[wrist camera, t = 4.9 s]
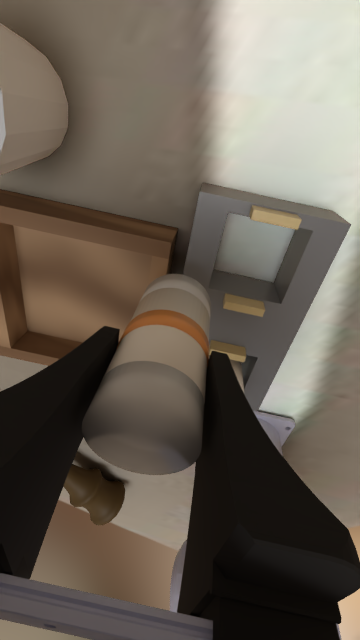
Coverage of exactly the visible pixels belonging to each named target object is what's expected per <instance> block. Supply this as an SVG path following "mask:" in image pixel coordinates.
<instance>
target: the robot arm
mask: <svg viewBox="0 0 360 640" xmlns="http://www.w3.org/2000/svg"><path fill="white" fill-rule="evenodd" d="M119 332H120V329H117V328H113V327H108V326H103V327H102V328H100V329H99V330H98V331H97V332H96V333H94V334H93V335H92V336H91V337H89V338H88V339H87V340H85V341H84V342H83V343H82V344H80V345H79V346H77V347H76V348H75V349H73V350H72V351H71V352H69V353H68V354H66V355H65V356H63V357H62V358H60V359H59V360H57V361H56V362H54V363H53V364H51V365H50V366H48V367H47V368H45V369H43V370H42V371H40V372H38V373H36V374H35V375H33V376H31V377H29V378H27V379H26V380H24V381H22V382H20V383H18V384H16V385H14V386H12V387H10V388H8V389H5V390H3V391H1V392H0V619H2V620H7V621H12V622H16V623H20V624H25V625H29V626H34V627H38V628H43V629H47V630H52V631H56V632H61V633H65V634H70V635H74V636H79V637H83V638H88V639H92V640H341V635H340V631H339V626H338V624H340V623H341V615H340V611H339V607H338V603H337V602H338V601H340V600H342V599H344V598H345V597H347V596H349V595H351V594H352V593H354V592H355V591H357V590H358V589H359V588H360V561H359V558H358V554H357V551H356V548H355V545H354V543H353V540H352V538H351V536H350V533H349V530H348V529H347V528H346V527H345V526H344V525H343V524H342V523H341V522H340V521H339V520H338V519H337V518H336V517H335V516H334V515H333V514H332V512H331V511H330V510H329V509H328V508H327V507H326V506H325V505H324V504H323V503H322V502H321V501H320V500H319V499H318V498H317V497H316V496H315V495H314V494H313V493H312V491H311V490H310V489H309V488H308V487H307V486H306V485H305V483H304V482H303V481H302V480H301V479H300V478H299V476H298V475H297V474H296V473H295V472H294V470H293V469H292V468H291V466H290V465H289V464H288V463H287V461H286V460H285V459H284V458H283V453H282V446H283V444H284V443H285V441H286V439H287V438H288V436H289V435H290V433H291V432H292V430H293V428H294V427H295V421H294V420H293V419H290V418H285V417H281V416H276V415H271V414H267V413H262V412H258V411H253V410H252V408H251V406H250V404H249V402H248V400H247V398H246V396H245V394H244V392H243V390H242V388H241V386H240V384H239V381H238V379H237V377H236V374H235V372H234V370H233V367H232V364H231V362H230V359H229V356H228V355H227V354H225V353H221V352H217V351H212V352H211V355H210V358H209V364H208V367H207V374H206V389H205V404H204V419H203V434H202V449H201V453H200V455H199V457H198V459H197V460H196V461H195V462H196V467H195V479H194V488H193V497H192V505H191V513H190V522H189V530H188V537H187V540H186V541H185V542H184V543H183V545H182V547H181V549H180V550H179V551H178V553H177V556H176V559H175V562H174V566H173V571H172V578H171V588H170V611H168V610H163V609H159V608H154V607H150V606H145V605H141V604H136V603H132V602H128V601H123V600H119V599H114V598H110V597H105V596H101V595H96V594H92V593H88V592H82V591H79V590H74V589H69V588H65V587H61V586H56V585H51V584H47V583H42V582H38V581H34V580H30V577H31V574H32V571H33V568H34V565H35V562H36V559H37V557H38V554H39V551H40V548H41V545H42V543H43V540H44V537H45V534H46V531H47V529H48V526H49V523H50V520H51V518H52V515H53V512H54V509H55V507H56V504H57V501H58V499H59V496H60V493H61V491H62V488H63V486H64V483H65V480H66V478H67V475H68V473H69V470H70V468H71V465H72V463H73V460H74V458H75V455H76V452H77V450H78V448H79V445H80V443H81V441H82V439H83V437H84V436H83V433H82V422H83V419H84V417H85V414H86V412H87V410H88V408H89V406H90V404H91V402H92V400H93V398H94V396H95V394H96V392H97V389H98V387H99V385H100V383H101V381H102V379H103V377H104V375H105V373H106V371H107V369H108V367H109V365H110V362H111V360H112V358H113V356H114V354H115V352H116V349H117V345H118V342H119Z"/></svg>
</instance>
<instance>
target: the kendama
mask: <svg viewBox="0 0 360 640" xmlns="http://www.w3.org/2000/svg"><path fill="white" fill-rule="evenodd" d="M63 487H64V488H65V489H66V490H67V491H68V493H69V494H70V503H71V504H72V505H73V506H74V507H84V508H86V509H87V510H88V511H89V513H90V518H91V521H92V522H93V523H94V524H96V525H104V524H106V523H108V522H110V521H111V520H112V519H113V518H114V517H115V516H116V515H117V514H118V512H119V511H120V509H121V507H122V504H123V501H124V496H125V487H124V484H123V483H122V482H120V481H107V480H105V479H104V478H103V477H102V475H101V471H100V470H99V469H97V468H93V469H89V470H88V469H84V468H81V467H79V466H76V465H74V464H72V465H71V468H70V470H69V473H68V475H67V478H66V480H65V483H64V486H63Z"/></svg>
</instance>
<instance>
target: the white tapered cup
mask: <svg viewBox="0 0 360 640" xmlns="http://www.w3.org/2000/svg"><path fill="white" fill-rule="evenodd" d="M67 129H68V102H67V98H66V95H65V92H64V88H63V85H62V81H61V79H60V77H59V76H58V74H57V73H56V71H55V70H54V68H53V66H52V65H51V63H50V62H49V60H48V59H47V57H46V56H45V55H44V54H42V53H41V52H40V51H39V50H37V49H36V48H35V47H34V46H33V45H31V44H30V43H29V42H28V41H26V40H25V39H23V38H22V37H20V36H19V35H17V34H16V33H14V32H13V31H11V30H10V29H8V28H7V27H5V26H4V25H2V24H1V23H0V175H3V174H5V173H8V172H10V171H13V170H15V169H18V168H20V167H23V166H25V165H28V164H30V163H33V162H36V161H38V160H41V159H43V158H46V157H48V156H49V155H51V154H52V153H53V152H54V151H55V150H56V149H57V148H59V147H60V146H61V144H62V141H63V139H64V136H65V134H66V131H67Z"/></svg>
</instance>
